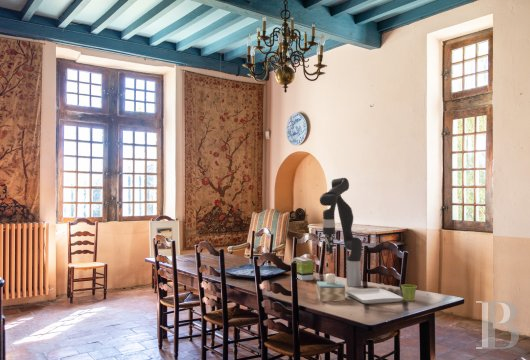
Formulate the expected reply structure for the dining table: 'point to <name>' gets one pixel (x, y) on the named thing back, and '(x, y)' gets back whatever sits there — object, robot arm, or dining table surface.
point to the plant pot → (408, 292)
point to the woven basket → (330, 294)
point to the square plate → (373, 295)
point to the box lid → (337, 284)
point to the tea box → (304, 268)
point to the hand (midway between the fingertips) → (329, 252)
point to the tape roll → (330, 278)
